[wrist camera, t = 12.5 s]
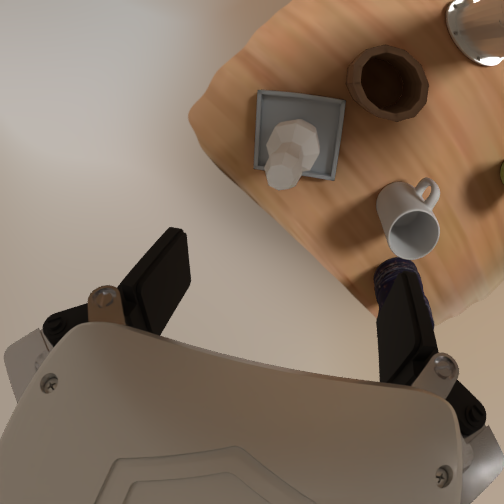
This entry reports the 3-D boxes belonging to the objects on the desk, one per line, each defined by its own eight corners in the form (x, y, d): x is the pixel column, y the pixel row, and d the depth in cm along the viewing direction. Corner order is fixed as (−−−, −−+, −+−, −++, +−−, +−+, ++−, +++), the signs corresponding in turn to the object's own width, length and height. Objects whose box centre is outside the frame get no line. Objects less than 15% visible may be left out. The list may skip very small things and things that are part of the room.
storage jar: (363, 277, 54) (368, 334, 42) (399, 247, 48) (416, 302, 36) (391, 301, 55) (400, 356, 43) (426, 275, 50) (444, 330, 38)
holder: (349, 47, 31) (356, 37, 24) (411, 62, 30) (431, 59, 22) (343, 105, 37) (349, 110, 30) (403, 119, 35) (422, 129, 28)
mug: (402, 233, 46) (416, 269, 37) (366, 210, 46) (375, 244, 37) (439, 182, 39) (464, 210, 30) (403, 155, 39) (424, 176, 30)
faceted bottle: (322, 117, 38) (324, 147, 20) (317, 155, 42) (311, 218, 24) (281, 110, 39) (244, 136, 21) (277, 149, 42) (240, 205, 25)
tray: (261, 89, 39) (257, 90, 37) (344, 99, 36) (345, 100, 34) (256, 164, 46) (253, 168, 44) (333, 175, 44) (334, 180, 42)
